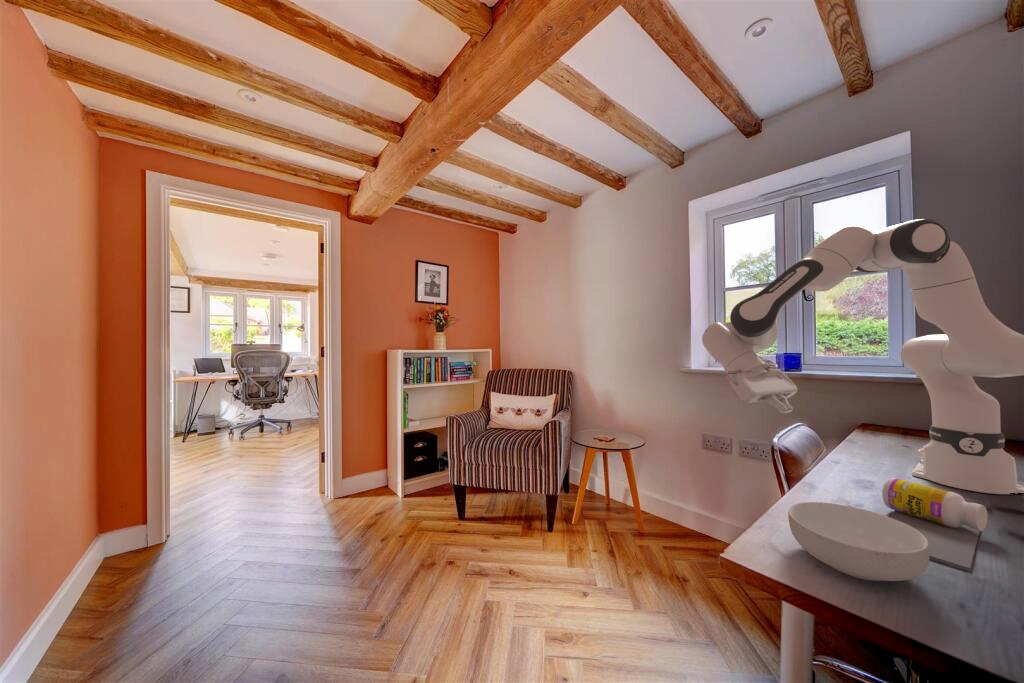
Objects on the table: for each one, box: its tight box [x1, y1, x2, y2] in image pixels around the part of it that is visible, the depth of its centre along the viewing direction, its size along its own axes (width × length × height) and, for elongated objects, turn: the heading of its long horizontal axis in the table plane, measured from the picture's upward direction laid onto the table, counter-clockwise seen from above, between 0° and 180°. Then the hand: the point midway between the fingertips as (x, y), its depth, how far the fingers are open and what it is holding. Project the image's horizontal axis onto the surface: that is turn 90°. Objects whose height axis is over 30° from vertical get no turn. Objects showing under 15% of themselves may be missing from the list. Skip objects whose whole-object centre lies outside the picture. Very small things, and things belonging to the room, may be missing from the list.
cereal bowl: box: [787, 501, 930, 582], centre depth 59 cm, size 17×17×7 cm
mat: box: [889, 510, 981, 573], centre depth 68 cm, size 22×11×1 cm, turn 125°
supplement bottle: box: [881, 477, 988, 532], centre depth 72 cm, size 7×7×13 cm
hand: (788, 411), depth 90 cm, fingers closed
